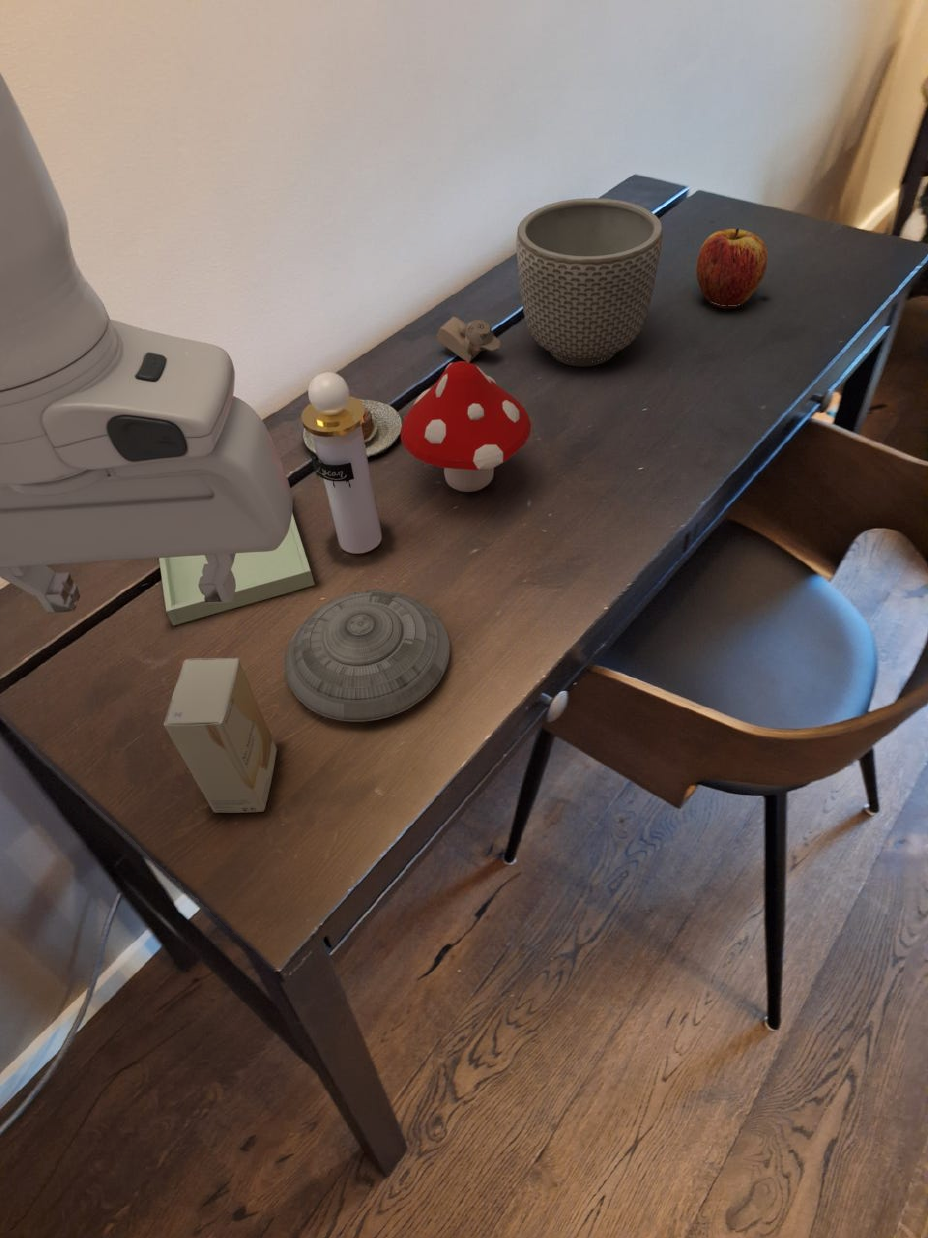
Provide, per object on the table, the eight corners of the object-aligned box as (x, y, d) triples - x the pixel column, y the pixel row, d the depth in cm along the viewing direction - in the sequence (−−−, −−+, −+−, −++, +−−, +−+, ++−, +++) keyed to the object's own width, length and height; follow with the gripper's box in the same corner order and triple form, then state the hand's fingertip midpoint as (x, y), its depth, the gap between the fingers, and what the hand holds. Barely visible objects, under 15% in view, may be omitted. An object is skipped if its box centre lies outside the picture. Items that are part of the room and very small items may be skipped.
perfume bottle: (349, 520, 88) (312, 353, 73) (397, 531, 86) (369, 362, 71) (324, 556, 84) (279, 387, 70) (373, 568, 83) (339, 398, 68)
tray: (173, 625, 79) (166, 611, 78) (160, 535, 88) (153, 520, 87) (315, 585, 82) (310, 570, 80) (288, 500, 91) (283, 486, 89)
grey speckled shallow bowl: (323, 404, 103) (315, 372, 100) (414, 410, 101) (409, 377, 98) (291, 462, 96) (282, 429, 92) (388, 470, 93) (383, 436, 90)
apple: (679, 308, 113) (690, 236, 106) (706, 281, 118) (718, 210, 111) (742, 324, 110) (757, 250, 102) (767, 295, 114) (783, 222, 107)
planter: (650, 319, 112) (664, 197, 100) (647, 389, 101) (662, 261, 89) (526, 315, 115) (525, 196, 103) (509, 383, 104) (506, 258, 92)
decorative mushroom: (447, 432, 97) (435, 315, 86) (552, 460, 93) (555, 340, 81) (385, 503, 89) (364, 383, 78) (497, 538, 85) (492, 415, 73)
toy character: (479, 381, 108) (494, 348, 103) (431, 347, 109) (443, 312, 104) (495, 366, 110) (509, 333, 105) (448, 332, 111) (460, 298, 106)
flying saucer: (367, 580, 82) (358, 540, 78) (484, 649, 75) (481, 609, 71) (254, 676, 74) (238, 637, 70) (372, 761, 67) (361, 724, 63)
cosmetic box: (265, 814, 65) (221, 727, 56) (212, 815, 65) (160, 729, 56) (279, 745, 69) (240, 654, 60) (229, 746, 69) (183, 656, 60)
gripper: (-216, 453, 36) (-49, 651, 46) (239, 422, 35) (306, 630, 46) (-148, 376, 40) (-9, 572, 51) (260, 347, 40) (317, 552, 50)
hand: (143, 599), depth 48 cm, fingers open, 8 cm apart
